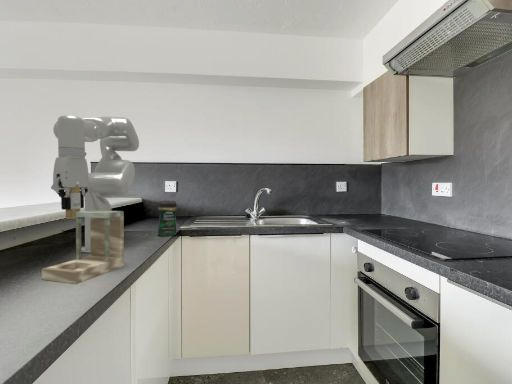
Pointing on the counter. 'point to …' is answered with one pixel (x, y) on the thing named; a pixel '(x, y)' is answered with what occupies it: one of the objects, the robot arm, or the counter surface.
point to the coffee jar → (167, 218)
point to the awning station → (93, 249)
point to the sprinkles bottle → (74, 202)
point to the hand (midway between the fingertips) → (73, 208)
